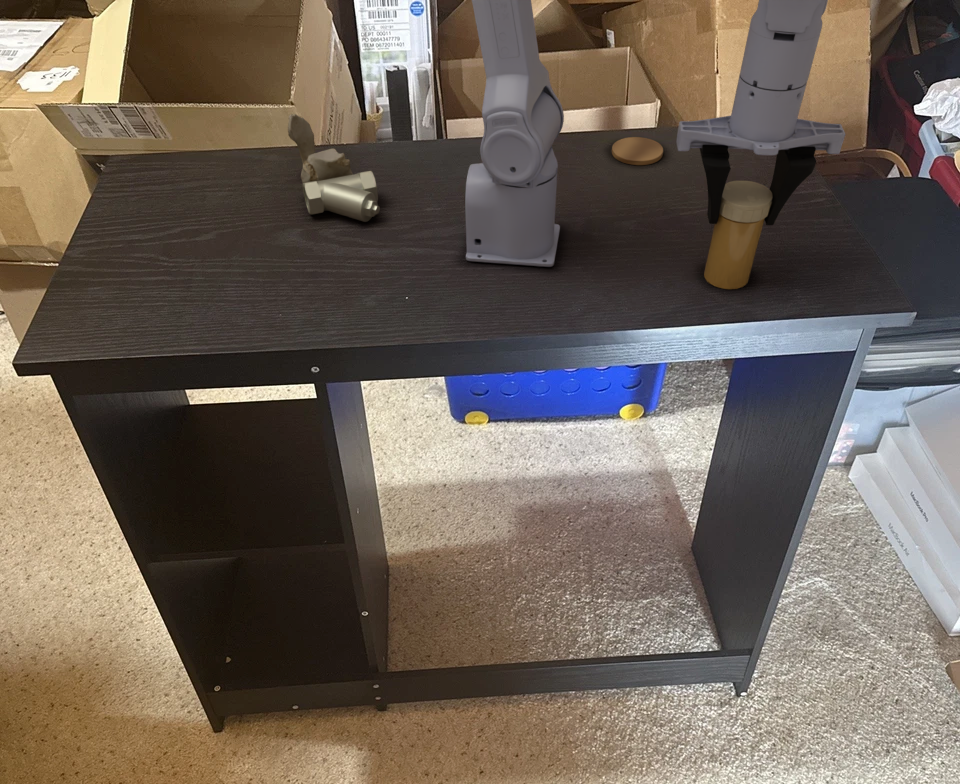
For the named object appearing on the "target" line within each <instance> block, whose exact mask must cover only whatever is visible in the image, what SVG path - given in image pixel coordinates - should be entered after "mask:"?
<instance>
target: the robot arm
mask: <svg viewBox="0 0 960 784" xmlns="http://www.w3.org/2000/svg"><path fill="white" fill-rule="evenodd" d="M828 1H829V0H758V3H757V6H756V7H757V8H756V9H755V12H754V13H753V14H752V17H751V19H750V22H749V27H748V32H747V38H746V41H745V42H746V43H745V47H744V51H743V56H742V61H741V66H740V70H739V76H738V80H737V86H736V89H735V93H734V98H733V99H734V100H733V104H732V109H731V113H730V115H725V116H719V117H712V118H705V119H697V120H686V121H685V120H684V121H683V120H681V121H679V122H678V127H677V134H676V140H675V142H676V148H677V152H689V151H690V150H691V149H699V152H700V157H701V160H702V161H701V162H702V165H703V169H704V172H705V177H706V187H707V219H708V223H709V224H710V225H714V224H717V221H718V218H719V213H720V206H721V199H722V194H723V191H724V187H725V184H726V183H727V180H728V177H729V174H730V172H731V164H730V152H729V149H730V150H731V149H732V150H749V151H753V153H754V154H755V155H757V156H758V155H759V156H776V158H775V164H774V168H773V169H774V170H773V173H772V174H773V175H772V179H771V183H770V186H769V188H768V189H769V190H770V191H771V192H772V195H773V198H772V204H771V206H770V209H769V213H768V216H767V217H765V220H764V223H765V226H774V225H775V222H776V220H777V218H778V216H779V214H780V213H781V211H782V209H783V207H784V206H785V204H786V203H787V202H788V200H789V199H790V197H791V196H792V195H793V193H795V191H796V190H797V188H799V186H801V184H802V183H803V182H804V181H805V180H806V179H807V178H808V177H809V176H810V175H811V174H812V173H813V171H814V170H815V168H816V164H817V159H816V157H815V154H816V151H826V153H827V154H828V155H840V153H841V150H842V147H843V143H844V140H845V137H846V132H845V130H844V128H843V125H842V124H841V123H829V122H821V121H814V120H808V119H802V118H799V115H800V110H801V106H802V103H803V99H804V96H805V92H806V87H807V84H808V81H809V77H810V75H811V71H812V67H813V62H814V59H815V55H816V52H817V47H818V45H819V44H818V43H819V40H820V36H821V34H822V29H823V20H822V19H823V17H822V16H824V14H825V12H826V10H827V6H828ZM471 3H472V9H473V14H474V19H475V26H476V30H477V36H478V41H479V47H480V52H481V57H482V63H483V68H484V73H485V78H486V79H485V88H484V94H483V101H482V108H481V117H482V121H483V135H482V139H481V142H480V146H479V147H480V148H479V152H480V153H479V154H480V159H481V162H480V163H472V164H470V165H469V167H468V171H467V174H466V175H467V177H466V180H465V181H466V182H465V196H464V197H465V198H464V200H465V201H464V205H465V206H464V210H465V211H464V212H465V214H464V215H465V240H466V253H465V260H466V261H468V262H478V263H489V264H490V263H491V264H502V265H515V266H516V265H518V266H532V267H533V266H534V267H543V268H544V267H546V268H551V267H553V266H554V265H555V260H556V254H557V249H558V242H559V237H560V231H561V225H559V224H557V223H555V222H556V220H555V219H556V205H557V189H558V188H557V186H558V170H559V163H558V159H557V157H556V155H555V152H554V148H553V144H554V142H555V140H556V139H557V138H558V137H559V135H560V133H561V131H562V129H563V126H564V122H565V114H564V109H563V105H562V103H561V100H560V99H559V98H558V97H557V94H555V91H554V89H553V87H552V84H551V81H550V80H551V79H550V72H549V70H548V69H547V68H546V66H545V65H544V64H543V63H542V61H541V59H540V52H539V47H538V40H537V32H536V25H535V19H534V18H535V17H534V10H533V4H532V0H471Z"/></svg>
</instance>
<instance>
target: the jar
mask: <svg viewBox="0 0 960 784" xmlns="http://www.w3.org/2000/svg"><path fill="white" fill-rule="evenodd" d="M764 223H765V218H764V219H762V220H760V221H757V222H751V223H744V222H737V221H732V220H730V219H727V218H725V217H723V216H722V215H721V214H720V213H719V218H718V221H717V224H713V229H712V233H711V238H710V243H709V248H708V253H707V257H706V260H705V265H704V271H703V277H704V279H705V281H706V282H707V283H708V284H710V286H711V285H712V286H714V287H715V288H718V289H724V290H738V289H740V288H743V287H744V286H746V285H747V284H748V282H749V280H750V277H751V273H752V269H753V266H754V261H755V257H756V254H757V250H758V247H759V244H760V243H759V242H760V240H761V239H760V238H761V234H762V231H763V227H764Z"/></svg>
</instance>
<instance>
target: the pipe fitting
mask: <svg viewBox="0 0 960 784" xmlns="http://www.w3.org/2000/svg"><path fill="white" fill-rule="evenodd" d="M301 186H302V193H303V197H304V202H305V205H306V208H307V212H308V214H309V215H317V214H321V213H324V212H327V211H328V212H331V213H333V214H337V215H340V216H343V217H347V218H350V219H353V220H357V221H360V222H363V223H367V222H369V221H370V220H371V219H372V217H373V218H374V217H375V216H376V215H379V213H380V210H381V209H380V206H379V204H378V201H379V192H378V186H377V182H376V178H375V175H374V173H373V171H372V170H365V171H362V172H361V171H360V172H357V173H353V175H348V176H343V177H337V178H332V179H327V180H321V181H312V182H306V183H303V182H302V185H301Z"/></svg>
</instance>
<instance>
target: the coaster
mask: <svg viewBox="0 0 960 784" xmlns="http://www.w3.org/2000/svg"><path fill="white" fill-rule="evenodd" d="M611 155H612V156H613V158H614V159H615V160H617V161H619V162H621V163H624V164H626V165H632V166H646V165H652V164H654V163H658V161H660V160H662V158H663V155H664V148H663V146H662V144H661V143H659V142H658V141H656V140H654V139H651V138H647V137H641V136H630V137H624V138H620V139H618V140H617V141H615V142H614V143H613V144H612V147H611Z"/></svg>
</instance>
